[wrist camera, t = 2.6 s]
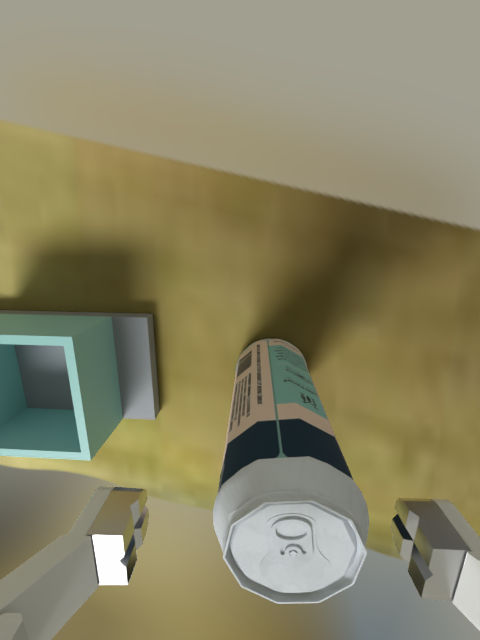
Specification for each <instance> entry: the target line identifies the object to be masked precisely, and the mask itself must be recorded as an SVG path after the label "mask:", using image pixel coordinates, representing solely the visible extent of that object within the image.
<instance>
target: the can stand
mask: <svg viewBox="0 0 480 640" xmlns="http://www.w3.org/2000/svg"><path fill="white" fill-rule="evenodd" d="M159 412H160V409H159V395H158V381H157V367H156V354H155V340H154V326H153V314H143V313H102V312H62V311H22V310H0V456H15V457H34V458H54V459H73V460H92V458H93V457H94V456H95V454H96V453H97V452H98V450H99V449H100V448H101V446H102V445H103V444H104V442H105V441H106V440H107V439H108V437H109V436H110V435H111V433H112V432H113V431H114V429H115V428H116V427H117V425H118V424H119V423H120V421H121V420H122V419H123V418H130V419H153V420H155V419H156V417H157V415H158V413H159Z"/></svg>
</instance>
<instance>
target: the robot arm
mask: <svg viewBox="0 0 480 640" xmlns="http://www.w3.org/2000/svg"><path fill="white" fill-rule="evenodd" d="M146 500H147V492H146V490H145V489H136V488H121V487H115V488H114V487H99V488H98V489H97V490H95V492H94V493H93V495H92V497H91V498H90V500H89V501H88V503H87V504H86V506H85V508H84V509H83V511H82V513H81V514H80V516H79V517H78V519H77V520H76V522H75V523H74V525H73V527H72V528H71V530H70V532H69V533H68V534H67V535H61V536H60V537H59V538H57V539H56V540H54V541H53V542H52V543H50V544H49V545H48V546H46V547H45V548H44V549H42V550H41V551H40V552H38V553H37V554H36V555H34V556H33V557H31V558H30V559H29V560H27V561H26V562H25V563H23V564H22V565H20V566H19V567H18V568H16V569H15V570H14V571H12V572H11V573H10V574H8V575H7V576H5V577H4V578H3V579H1V580H0V640H51V639H52V638H53V637H54V636H55V635H56V633H57V632H58V631H59V630H60V629H61V628H62V627H63V626H64V625H65V623H66V622H67V621H68V620H69V619H70V618H71V617H72V616H73V614H74V613H75V612H76V611H77V610H78V609H79V608H80V606H82V604H83V603H84V602H85V601H86V600H87V599H88V598H89V597H90V595H91V594H92V593H93V592H94V591H95V590H96V589H97V588H98V585H128V583H129V580H130V578H131V575H132V572H133V569H134V566H135V564H136V561H137V555H136V550H137V549H138V548H139V547H140V546H141V545H142V544H143V541H144V538H145V535H146V531H147V526H148V517H149V513H148V509H147V507H146V506H145V503H146ZM395 509H396V511H397V513H398V514H397V515H396V516H395V517H394V518H393V519H392V526H391V530H392V537H393V540H394V543H395V546H396V548H397V551H398V553H399V555H400V556H401V557H402V558H403V559H404V560H406V561H407V562H408V563H409V567H408V573H409V575H410V577H411V579H412V581H413V583H414V585H415V587H416V589H417V591H418V593H419V595H420V597H421V598H422V599H435V600H447V601H453V604H454V605H455V606H456V607H457V608H458V609H459V610H460V611H461V612H462V613H463V614H464V615H465V616H466V617H467V618H468V619H469V620H470V621H471V622H472V623H473V624H474V625H475V626H476V627H477V629H479V631H480V537H479V536H478V535H477V533H476V532H475V531H474V530H473V528H472V527H471V526H470V525H469V523H468V522H467V521H466V520H465V518H464V517H463V516H462V515H461V513H460V512H459V511H458V510H457V508H456V507H455V506H454V505H453V504H452V503H451V502H450V501H449V500H444V499H410V498H398V500H397V501H396V504H395Z"/></svg>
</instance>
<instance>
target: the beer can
mask: <svg viewBox="0 0 480 640" xmlns="http://www.w3.org/2000/svg"><path fill="white" fill-rule="evenodd" d="M213 522H214V529H215V531H216V534H217V537H218V540H219V543H220V545H221V548H222V551H223V559H224V560H225V562H226V563H227V565H228V567H229V568H230V570H231V571H232V573H233V575H234V576H235V578H236V580H237V581H238V583H239V585H240V586H241V587H242V588H245V589H247V590H249V591H251V592H253V593H255V594H257V595H260V596H262V597H264V598H266V599H268V600H270V601H272V602H275V603H277V604H284V603H320V602H322V601H324V600H326V599H327V598H329V597H331V596H333V595H335V594H336V593H339V592H341V591H342V590H344V589H346V588H348V587H350V586H352V585H353V584H354V582H355V580H356V578H357V575H358V573H359V571H360V569H361V566H362V564H363V562H364V560H365V557H366V554H367V551H366V548H365V547H366V542H367V534H368V526H369V516H368V509H367V504H366V502H365V499H364V497H363V495H362V492H361V491H360V489H359V488H358V486H357V485H356V484H355V482H354V481H353V478H352V476H351V473H350V471H349V468H348V466H347V464H346V461H345V459H344V456H343V454H342V451H341V449H340V447H339V444H338V442H337V439H336V437H335V434H334V432H333V430H332V427H331V425H330V422H329V420H328V417H327V415H326V413H325V410H324V408H323V405H322V403H321V400H320V398H319V396H318V393H317V391H316V388H315V386H314V384H313V381H312V379H311V376H310V374H309V371H308V368H307V363H306V361H305V358H304V356H303V355H302V353H301V352H300V350H299V349H298V348H297V347H295V346H294V345H292V344H291V343H289V342H287V341H284V340H280V339H270V338H268V339H263V340H259V341H257V342H254V343H252V344H251V345H249V346H248V347H247V348H246V349H245V350H244V351H243V352H242V353H241V355H240V357H239V359H238V361H237V365H236V377H235V384H234V390H233V397H232V404H231V410H230V417H229V423H228V430H227V437H226V443H225V450H224V457H223V463H222V470H221V476H220V483H219V490H218V495H217V497H216V500H215V504H214V509H213Z"/></svg>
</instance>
